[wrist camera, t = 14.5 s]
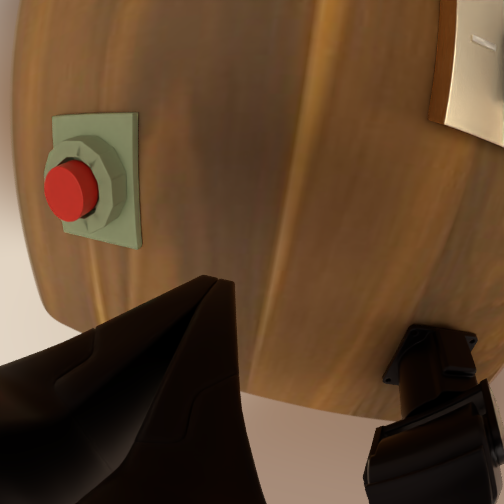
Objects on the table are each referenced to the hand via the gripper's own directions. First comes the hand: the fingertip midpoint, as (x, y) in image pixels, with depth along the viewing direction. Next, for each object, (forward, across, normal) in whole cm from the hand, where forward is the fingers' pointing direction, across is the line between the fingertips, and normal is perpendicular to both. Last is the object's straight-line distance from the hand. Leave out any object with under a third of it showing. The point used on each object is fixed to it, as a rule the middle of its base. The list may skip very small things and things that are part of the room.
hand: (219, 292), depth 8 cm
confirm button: (+10, +14, +2) cm, 17 cm away
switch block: (+12, +14, +2) cm, 19 cm away
